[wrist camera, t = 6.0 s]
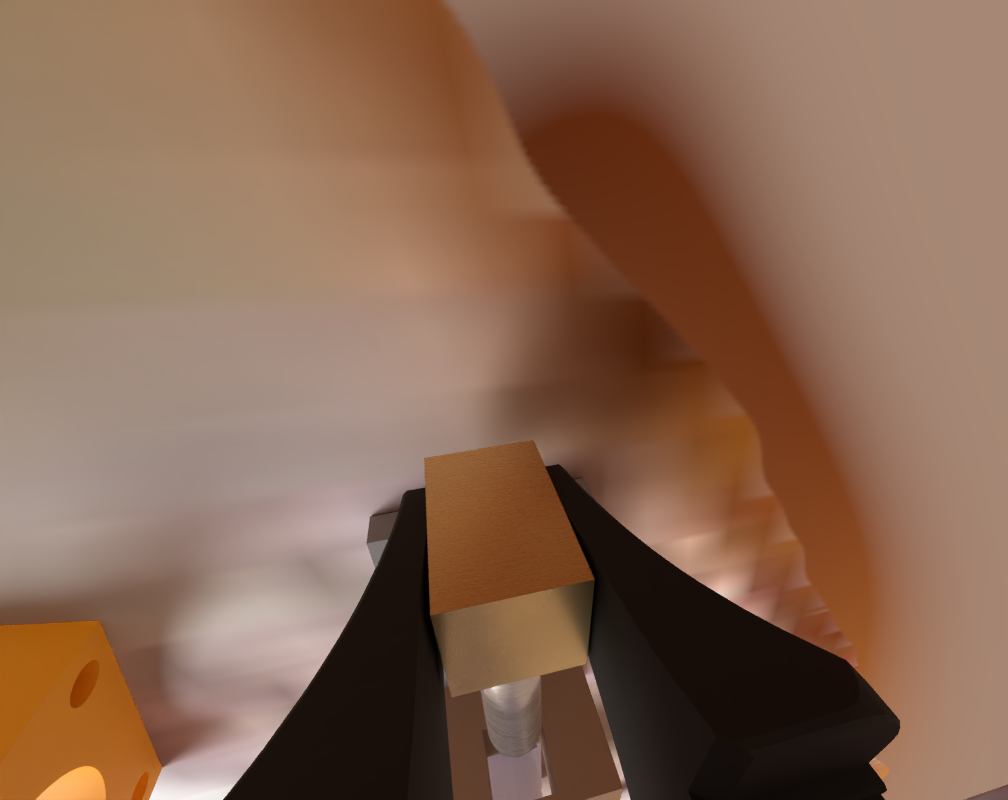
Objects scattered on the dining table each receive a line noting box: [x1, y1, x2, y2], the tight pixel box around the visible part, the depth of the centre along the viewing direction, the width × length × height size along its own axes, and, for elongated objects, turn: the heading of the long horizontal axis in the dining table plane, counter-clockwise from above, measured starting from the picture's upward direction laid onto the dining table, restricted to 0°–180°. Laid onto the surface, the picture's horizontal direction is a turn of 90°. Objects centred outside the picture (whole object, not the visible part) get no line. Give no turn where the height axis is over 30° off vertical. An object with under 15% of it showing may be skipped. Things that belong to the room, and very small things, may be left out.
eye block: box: [367, 478, 623, 800], centre depth 16 cm, size 16×8×6 cm, turn 3°
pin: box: [424, 440, 595, 758], centre depth 12 cm, size 11×3×4 cm, turn 3°
